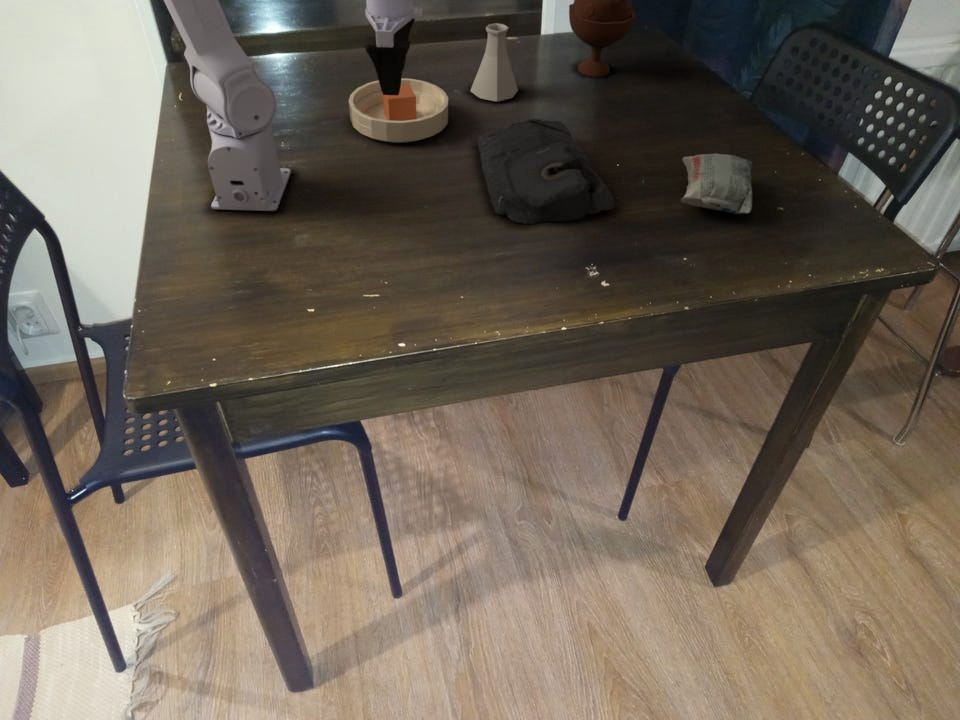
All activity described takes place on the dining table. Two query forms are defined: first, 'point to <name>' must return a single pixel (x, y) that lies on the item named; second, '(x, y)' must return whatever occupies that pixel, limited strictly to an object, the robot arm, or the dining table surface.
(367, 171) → the dining table surface
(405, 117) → the block
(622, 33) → the ice cream bowl
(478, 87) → the flask
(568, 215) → the dark slate chunk
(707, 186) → the packaged food
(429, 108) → the bowl
